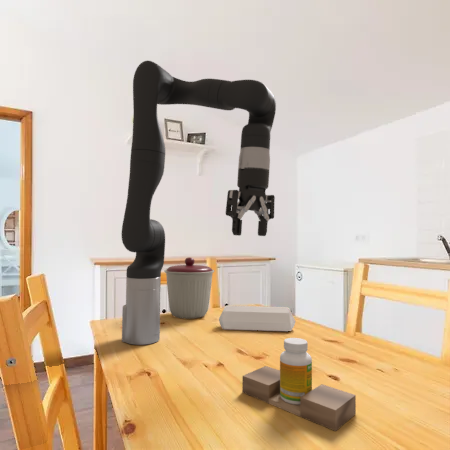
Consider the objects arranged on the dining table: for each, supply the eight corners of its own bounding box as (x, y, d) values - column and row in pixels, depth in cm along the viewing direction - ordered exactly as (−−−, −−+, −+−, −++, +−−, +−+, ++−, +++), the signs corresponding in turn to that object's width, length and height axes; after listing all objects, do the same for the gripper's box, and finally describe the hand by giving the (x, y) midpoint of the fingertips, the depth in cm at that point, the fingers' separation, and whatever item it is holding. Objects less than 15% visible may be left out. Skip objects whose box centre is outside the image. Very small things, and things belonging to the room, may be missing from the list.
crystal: (293, 313, 113) (220, 311, 115) (295, 306, 107) (218, 304, 109) (294, 337, 109) (219, 334, 111) (297, 330, 103) (217, 328, 105)
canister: (186, 324, 112) (187, 259, 113) (153, 315, 125) (154, 257, 125) (224, 315, 125) (224, 257, 126) (191, 308, 138) (191, 255, 139)
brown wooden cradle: (335, 431, 51) (335, 410, 51) (242, 392, 63) (242, 375, 63) (355, 414, 56) (355, 395, 56) (265, 381, 68) (265, 365, 68)
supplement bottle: (312, 407, 56) (312, 346, 56) (279, 404, 57) (279, 344, 57) (311, 392, 61) (311, 337, 62) (280, 390, 62) (280, 335, 63)
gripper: (262, 173, 91) (258, 235, 91) (221, 165, 81) (217, 234, 82) (284, 171, 85) (280, 237, 85) (243, 162, 76) (238, 236, 76)
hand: (249, 235), depth 84 cm, fingers open, 8 cm apart
